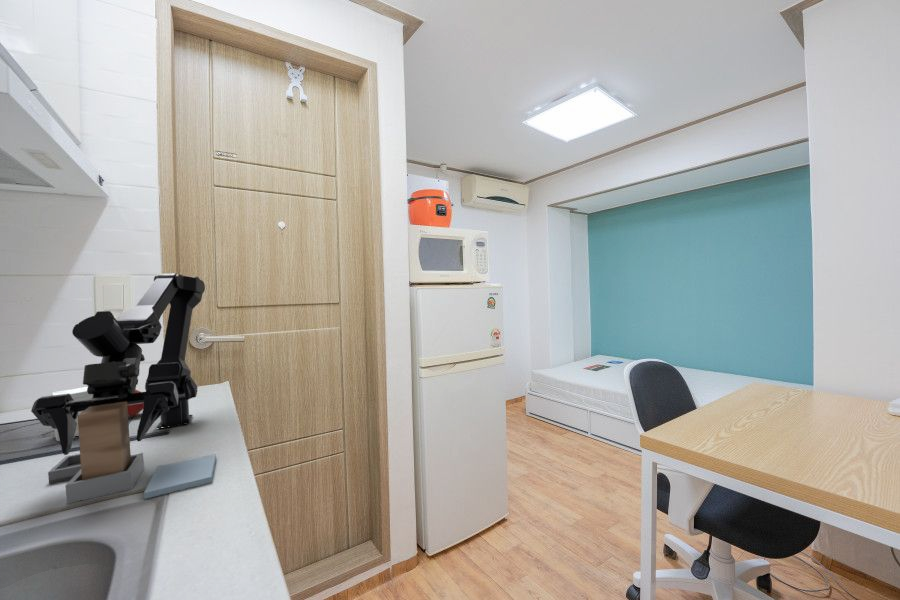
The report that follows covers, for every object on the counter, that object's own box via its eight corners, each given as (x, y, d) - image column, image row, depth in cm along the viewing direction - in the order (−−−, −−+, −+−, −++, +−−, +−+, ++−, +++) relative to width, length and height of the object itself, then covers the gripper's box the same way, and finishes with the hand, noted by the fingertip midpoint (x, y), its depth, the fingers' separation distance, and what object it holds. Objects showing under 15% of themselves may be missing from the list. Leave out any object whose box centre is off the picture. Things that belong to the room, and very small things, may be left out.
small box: (101, 425, 90) (98, 384, 90) (105, 430, 87) (102, 387, 86) (54, 436, 84) (51, 392, 83) (56, 442, 80) (52, 396, 80)
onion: (132, 412, 99) (131, 384, 99) (152, 412, 99) (151, 383, 99) (112, 420, 93) (110, 390, 93) (133, 420, 93) (131, 389, 93)
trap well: (66, 466, 69) (65, 456, 69) (114, 457, 72) (114, 447, 72) (48, 483, 63) (48, 472, 63) (102, 472, 66) (101, 461, 66)
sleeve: (86, 480, 63) (85, 464, 63) (144, 468, 67) (143, 452, 67) (66, 503, 56) (65, 485, 56) (132, 488, 60) (131, 471, 60)
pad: (157, 471, 66) (157, 466, 66) (216, 458, 70) (215, 453, 70) (144, 499, 57) (143, 492, 57) (211, 482, 61) (211, 476, 61)
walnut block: (94, 482, 63) (89, 406, 62) (131, 474, 65) (127, 401, 65) (83, 496, 58) (77, 415, 58) (123, 487, 61) (118, 409, 60)
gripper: (32, 350, 60) (-3, 438, 50) (172, 339, 69) (164, 412, 60) (57, 386, 67) (31, 469, 58) (181, 371, 76) (175, 441, 67)
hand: (103, 446), depth 60 cm, fingers open, 9 cm apart
